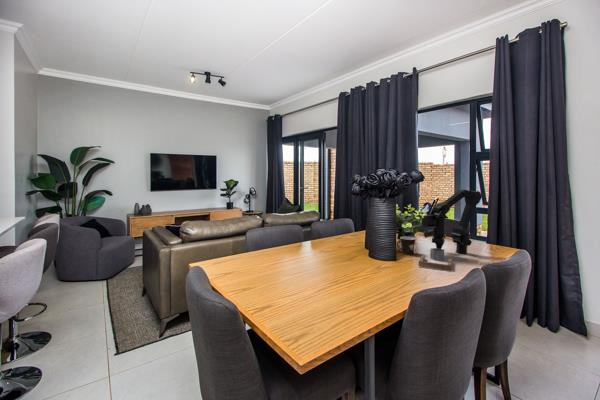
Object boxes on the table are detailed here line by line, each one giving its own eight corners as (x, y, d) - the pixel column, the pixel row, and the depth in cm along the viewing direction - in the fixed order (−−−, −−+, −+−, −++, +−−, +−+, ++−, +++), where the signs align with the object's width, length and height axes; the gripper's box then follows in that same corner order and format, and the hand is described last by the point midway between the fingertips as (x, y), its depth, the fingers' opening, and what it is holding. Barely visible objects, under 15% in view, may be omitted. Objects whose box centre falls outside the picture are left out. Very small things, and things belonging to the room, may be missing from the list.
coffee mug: (412, 252, 178) (413, 236, 177) (417, 256, 169) (417, 239, 168) (393, 252, 179) (393, 236, 178) (396, 255, 170) (397, 239, 169)
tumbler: (430, 257, 166) (431, 247, 166) (444, 259, 163) (444, 249, 162) (429, 260, 160) (430, 250, 160) (443, 262, 157) (444, 252, 156)
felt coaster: (451, 257, 166) (451, 256, 166) (467, 259, 162) (467, 258, 162) (451, 261, 159) (451, 259, 159) (467, 263, 155) (467, 261, 155)
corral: (421, 259, 162) (422, 254, 162) (451, 263, 155) (452, 258, 154) (418, 267, 149) (418, 261, 149) (450, 271, 142) (451, 266, 142)
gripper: (426, 222, 180) (425, 247, 181) (422, 227, 164) (421, 254, 165) (446, 224, 174) (445, 249, 176) (444, 229, 158) (443, 256, 160)
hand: (438, 252), depth 169 cm, fingers closed
